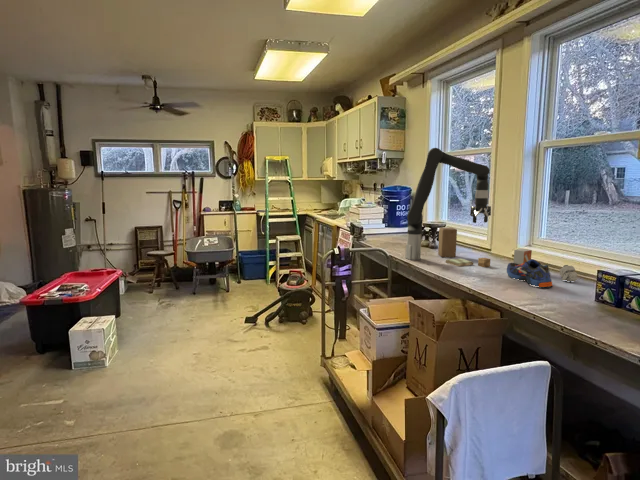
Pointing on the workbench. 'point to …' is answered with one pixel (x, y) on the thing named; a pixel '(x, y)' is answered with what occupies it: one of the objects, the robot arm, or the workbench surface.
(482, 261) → the oak cube
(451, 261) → the pad
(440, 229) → the wooden block
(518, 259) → the small box
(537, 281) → the running shoe
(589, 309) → the workbench surface
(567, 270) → the beige lumpy piece
